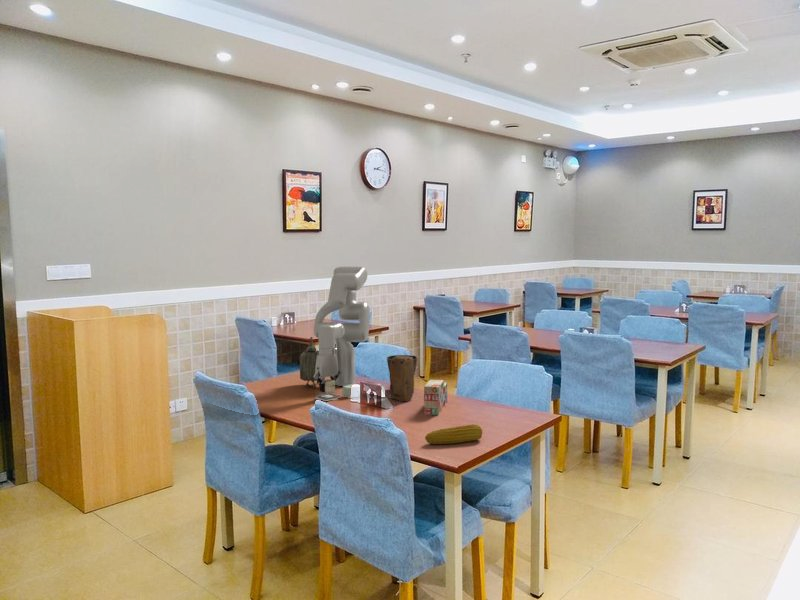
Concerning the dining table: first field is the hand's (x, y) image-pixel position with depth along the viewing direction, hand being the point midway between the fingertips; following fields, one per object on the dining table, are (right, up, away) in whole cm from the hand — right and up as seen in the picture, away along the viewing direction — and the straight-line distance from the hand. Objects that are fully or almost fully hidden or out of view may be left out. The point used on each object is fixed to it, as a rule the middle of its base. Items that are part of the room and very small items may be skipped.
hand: (327, 390), depth 268 cm
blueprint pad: (0, -4, +1) cm, 4 cm away
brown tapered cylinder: (+34, -4, 0) cm, 34 cm away
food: (+53, -10, -60) cm, 81 cm away
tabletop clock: (-11, -2, +26) cm, 28 cm away
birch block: (0, -1, 0) cm, 1 cm away
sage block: (+10, -4, +5) cm, 12 cm away
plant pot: (+35, -3, +18) cm, 39 cm away
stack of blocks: (+49, -6, -15) cm, 52 cm away
